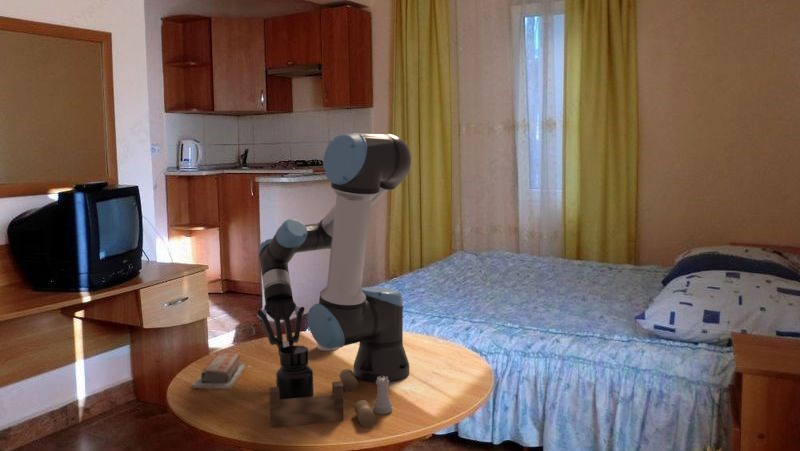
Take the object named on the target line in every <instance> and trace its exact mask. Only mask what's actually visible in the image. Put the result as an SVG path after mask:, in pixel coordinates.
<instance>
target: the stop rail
mask: <svg viewBox="0 0 800 451" xmlns="http://www.w3.org/2000/svg"><path fill="white" fill-rule="evenodd" d="M331 385H332V389H331V390H332V394H327V395H317V396H314V395H313V397H303V398H292V399H281V400H279V387H277V386H272V387H271V386H270V387H269V388H268V389H269V390H268V391H269V416H270V417H269V418H270V420H269V421H270V422H269V423H270V428H277V427H279V428H280V427H288V426H289V427H290V426H298V425H299V426H300V425H309V424H310V425H311V424H318V423H329V422H330V423H331V422H339V421H344V420H345V419H344V416H345V414H344V386H343V384H342V382H341V380H340V381H332V383H331Z"/></svg>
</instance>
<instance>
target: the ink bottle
mask: <svg viewBox="0 0 800 451" xmlns="http://www.w3.org/2000/svg"><path fill="white" fill-rule="evenodd" d="M279 363H280V368H279V369H278V370H277V371H276V374H275V378H276V379H275V382H276V386H275V387H279V400H281V399H292V398H303V397H314V395H315V394H314V390H315V389H314V370H313V369H312V367H310V366H309V348H308V347H307V346H304V345H293V346H287V347H284V348H282V349H280V356H279Z"/></svg>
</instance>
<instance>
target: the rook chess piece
mask: <svg viewBox="0 0 800 451" xmlns="http://www.w3.org/2000/svg"><path fill="white" fill-rule="evenodd" d="M390 382H391V381H389V380H388V377H387V376H386V378H385V376H383V378H381V376H379V377H377V380H376V382H375V383H376V385H377V387H376V390H377V392H376V399H375V400H374V403H373V409H372V410H373V412H374V414H378V415H387V414H390V413H392V411H393V403H392V402H391V400H390V397H389V384H390Z"/></svg>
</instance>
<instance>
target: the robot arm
mask: <svg viewBox="0 0 800 451" xmlns="http://www.w3.org/2000/svg"><path fill="white" fill-rule="evenodd" d="M322 165H323V170H324V171H325V172H324V176H325V177H326V179H327V180H328V181H329V182H330V183H331V185H330V188H331V190H333V191H334V194H336V198H335V204H334V206H333V207H332V208H331V209H330V210H329V211H328V213H327V214H326V215H325V216H324V217H323V218H322V219H321V220H320V221H319V222H317V223H311V224H304V223H303V222H302V221H300V219H299V220H297V219H294V218H289V219H286V220H285V221H283V223H282V224H281V226H279V227H278V228H277V230H276V232H275V234H274V235H273V237H272V238H268V239H266V240H264V241H263V242H261V243H260V244H259V247H258V259H259V264H260V265H259V266H260V271H261V278H262V287H263V291H264V292H263V296H264V302H265V304H264V308H263V309H260V310H259V309H258V310H257V313H256V318H257V320H259V321H260V323H261V324H262V327H263V329H264V331H265V335H266V337H267V338H268V341H269V343H270V345H272V346H277V348H278V356H279V357H280V349H282V348H284V347H287V346H294V344H295V343H298V342H299V339H300V332H301V326H302V325H301V324H302V323H301V322H302V318H303V316H304V312H305V307H304V306H301V307H300V306H297V304H296V302H295V301H294V297H293V289H292V284H291V278H290V272H289V262H290V261H291V260H292V259H293V257H294V256H295V255H296V254H297V253H304V252H305V253H306V252H314V251H319V250H327V249H329V250H330V253H329V254H330V255H329V264H328V274H327V282H326V287H324V288H322V290H321V291H320V293H319V298H318V299H319V301H318V303H314V304H313V305H311V307H310V308H309V310H308V311H307V312H308V313H307V323H308V328H309V331H310V334H311V336H312V338H313V340H315V342H316V344H317V343H318V344H319V345H320V346H322V347H323V348H326V349H333V348H338V349H340V348H344V347H345V346H346V347H347V346H350V345H353V344H357V343H359V345H358V346H359V347H358V350H357V352H356V356H355V360H354V363H353V368H352V369H353V371H352V372H353V374H354V376H355V378H356V379H359V380H362V381H366V382H371V383H376V380H377V377H379V376H381V378H383V376H385V378H386V376H387V377H388V380H389V381H390V382H394V380H396V381H399V379H400V380H401V379H402V380H403V379H405V378H406V377H408V376H409V375H410V362H409V359H408V357H407V354H406V351H405V347H404V344H403V343H404V341H403V339H404V338H403V337H404V336H403V333H404V330H403V328H404V327H403V326H404V323H403V322H404V321H403V320H404V318H403V317H404V314H403V313H404V310H403V309H404V305H403V296H402V293H401V292H400V291H398V290H395V289H391V288H387V287H385V288H384V287H377V286H376V287H372V286H371V287H370V286H368V287H367V286H366V287H365V286H364V287H363V286H362V285H363V276H364V269H365V259H366V251H367V243H368V235H369V228H370V218H371V210H372V207H373V206H374V205H375V204H376V203H377V202H378V201H379V200H380V199H381V197H383V196H384V195H385V193H386V192H388V191H394V190H395V189H397V187H398V186H399V185H400V184H401V183H402V182H403V181H404V179H405V178H406V177H407V176H408V174H409V171H410V168H411V165H412V156H411V151H410V149H409V147H408V145H407V144H406V142H405V141H404V140H403V139H401V138H400V137H399V136H397V135H395V134H392V133H365V132H362V133H361V132H360V133H359V132H358V133H357V132H350V133H342V134H339V135H338V134H337V135H336V136H335V137H334V138H333V139H331V141H330V142H329V143H328V144H327V147H326V149H325V151H324V154H323V161H322ZM294 312H295V313H294ZM293 313H294V314H295V315H296V318H295V319H296V320H295V329H294V335H293V333H292V332H293V331H292V327H291V316H292V315H293ZM267 315H268V317H270V318H271V319H272V320H273V323H274V329H275V330H274V331H275V332H274V331H273V329H272V326H271V324H270V321H269V319H268V317H267ZM282 320H283V324H284V330H285V339H286V341H283V332H282V324H281V321H282Z"/></svg>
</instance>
